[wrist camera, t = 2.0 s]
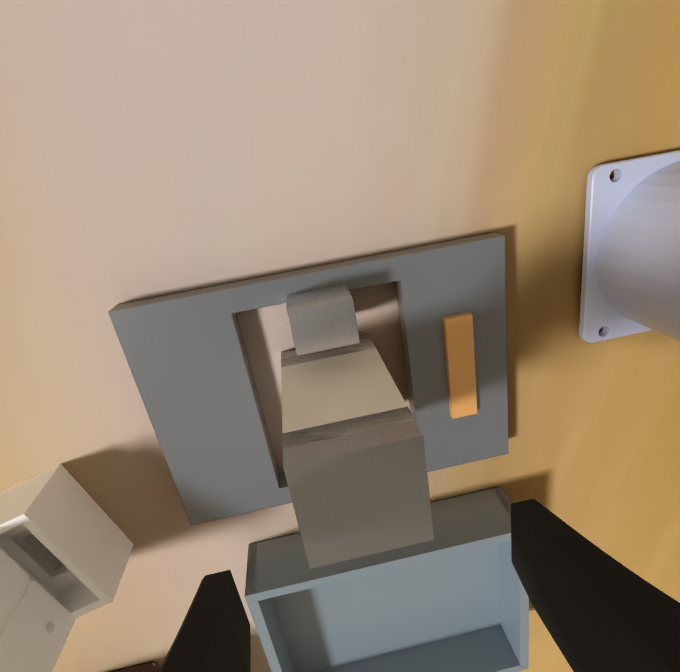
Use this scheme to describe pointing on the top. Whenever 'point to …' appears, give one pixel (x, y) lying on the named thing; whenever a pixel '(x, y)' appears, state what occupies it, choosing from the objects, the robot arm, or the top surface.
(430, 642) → the tray
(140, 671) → the box
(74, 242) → the top surface
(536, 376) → the top surface
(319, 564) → the tan rectangular block
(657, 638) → the robot arm
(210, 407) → the frame
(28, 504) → the white wedge bracket
